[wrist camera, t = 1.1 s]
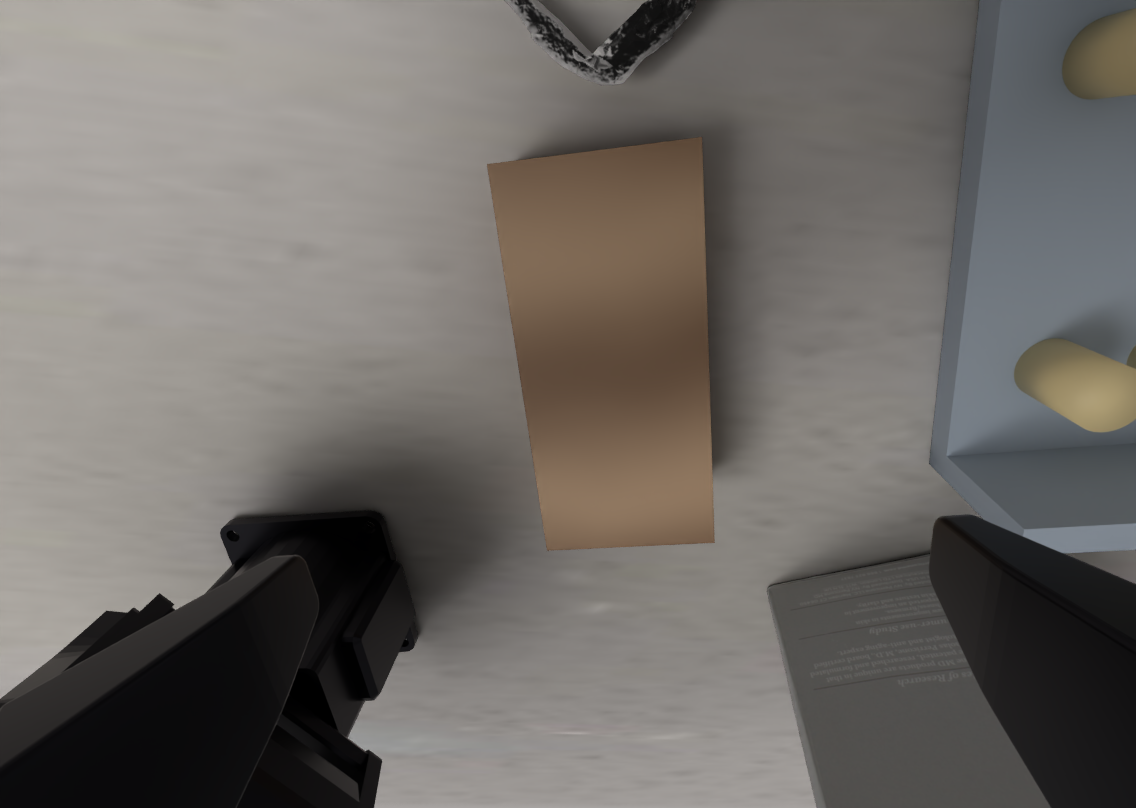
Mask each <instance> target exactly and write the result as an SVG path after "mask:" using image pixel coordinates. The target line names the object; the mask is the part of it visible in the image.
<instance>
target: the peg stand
mask: <svg viewBox="0 0 1136 808" xmlns="http://www.w3.org/2000/svg"><path fill="white" fill-rule="evenodd" d="M929 464H930V465H931V466H932V467H933V468H934V469H935V470H936V471H937V472H938V473H939V474H940V475H941V476H942V477H943V478H944V479H945V480H946V481H947V482H948V483H949V484H950V485H951V486H952V487H953V488H954V489H955V490H956V491H957V493H958V494H959V495H960V496H961V497H962V498H963V499H964V500H965V501H966V502H967V503H968V504H969V505H970V506H971V507H972V508H973V509H974V510H975V511H976V512H977V513H978V514H979V515H980V516H981V517H982V518H983V519H984V520H986V521H988V522H990V523H993V524H995V525H997V526H1000V527H1002V528H1004V529H1007V530H1009V531H1011V532H1014V533H1016V534H1019V535H1021V536H1023V537H1026V538H1028V539H1030V540H1033V541H1035V542H1037V543H1040V544H1042V545H1045V546H1047V547H1049V548H1052V549H1054V550H1056V551H1059V552H1061V553H1081V552H1101V551H1121V550H1136V0H980V1H979V10H978V19H977V28H976V37H975V47H974V56H973V65H972V74H971V83H970V93H969V102H968V111H967V120H966V129H965V139H964V148H963V157H962V166H961V175H960V185H959V194H958V203H957V212H956V221H955V231H954V240H953V249H952V258H951V267H950V277H949V286H948V295H947V304H946V313H945V323H944V332H943V341H942V350H941V359H940V369H939V378H938V387H937V396H936V406H935V415H934V424H933V433H932V442H931V452H930V461H929Z"/></svg>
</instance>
